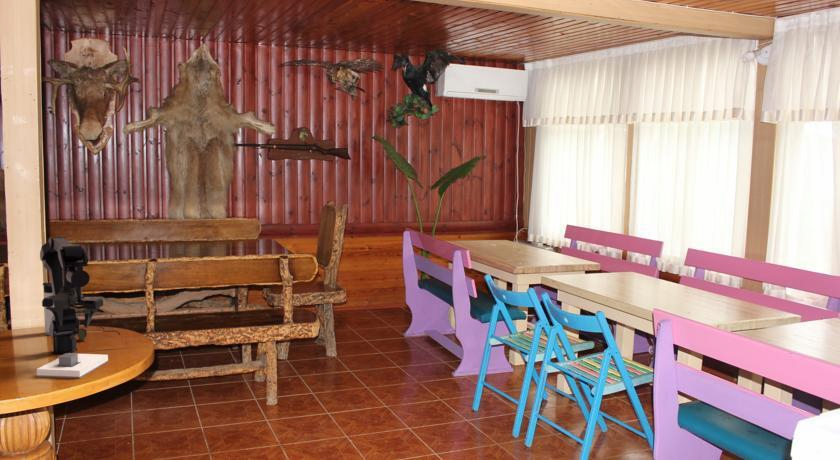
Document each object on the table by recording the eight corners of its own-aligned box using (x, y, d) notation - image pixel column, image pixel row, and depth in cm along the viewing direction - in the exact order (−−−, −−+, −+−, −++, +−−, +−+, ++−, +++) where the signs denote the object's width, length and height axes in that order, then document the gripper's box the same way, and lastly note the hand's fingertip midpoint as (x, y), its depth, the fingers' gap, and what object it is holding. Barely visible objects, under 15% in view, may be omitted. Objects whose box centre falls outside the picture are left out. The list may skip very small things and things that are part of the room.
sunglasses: (66, 336, 274) (67, 323, 274) (103, 332, 286) (104, 320, 286) (85, 343, 266) (86, 330, 265) (122, 338, 277) (123, 326, 277)
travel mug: (48, 331, 280) (46, 281, 278) (65, 331, 281) (64, 281, 279) (41, 335, 274) (39, 284, 272) (59, 335, 275) (57, 284, 272)
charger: (59, 371, 228) (58, 356, 228) (66, 368, 232) (65, 353, 232) (71, 372, 228) (70, 357, 227) (78, 368, 232) (77, 353, 231)
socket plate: (36, 376, 224) (36, 369, 224) (68, 360, 242) (67, 353, 242) (79, 378, 224) (79, 370, 223) (107, 361, 242) (107, 354, 241)
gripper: (31, 285, 232) (32, 331, 234) (86, 288, 231) (87, 334, 233) (51, 279, 243) (52, 323, 245) (103, 281, 242) (104, 326, 244)
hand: (73, 327), depth 241 cm, fingers open, 9 cm apart
